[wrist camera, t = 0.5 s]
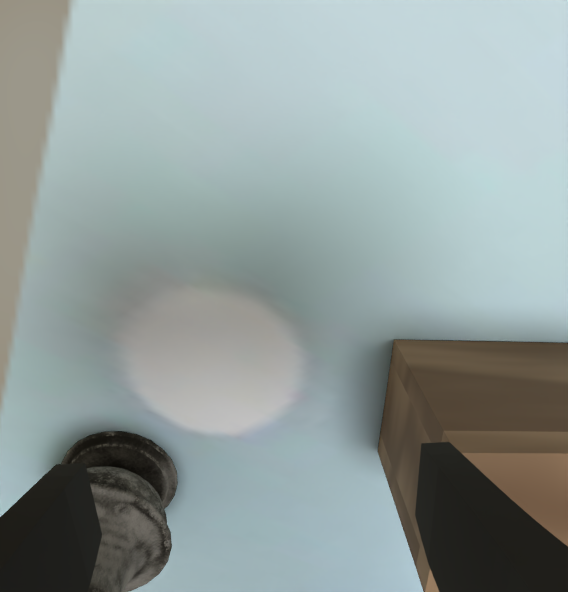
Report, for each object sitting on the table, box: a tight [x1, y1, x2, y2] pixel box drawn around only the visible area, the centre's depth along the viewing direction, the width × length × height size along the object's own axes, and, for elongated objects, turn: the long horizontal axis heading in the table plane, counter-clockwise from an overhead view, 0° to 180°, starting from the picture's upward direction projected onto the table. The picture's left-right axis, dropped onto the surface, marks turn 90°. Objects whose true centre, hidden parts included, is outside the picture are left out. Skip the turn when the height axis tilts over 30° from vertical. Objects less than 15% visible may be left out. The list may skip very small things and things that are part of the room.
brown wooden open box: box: [378, 340, 568, 592], centre depth 19 cm, size 6×8×7 cm
